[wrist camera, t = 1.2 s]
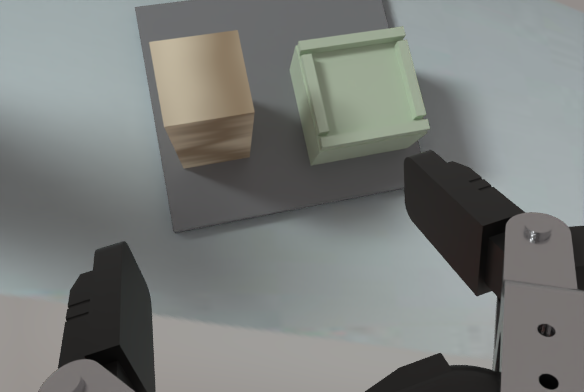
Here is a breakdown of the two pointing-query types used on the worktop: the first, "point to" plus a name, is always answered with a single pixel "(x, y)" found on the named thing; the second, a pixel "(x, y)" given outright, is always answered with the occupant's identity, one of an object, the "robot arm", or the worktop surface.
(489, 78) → the worktop surface
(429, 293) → the worktop surface
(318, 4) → the grey flat plate
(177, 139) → the birch pillar
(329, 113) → the green plinth
